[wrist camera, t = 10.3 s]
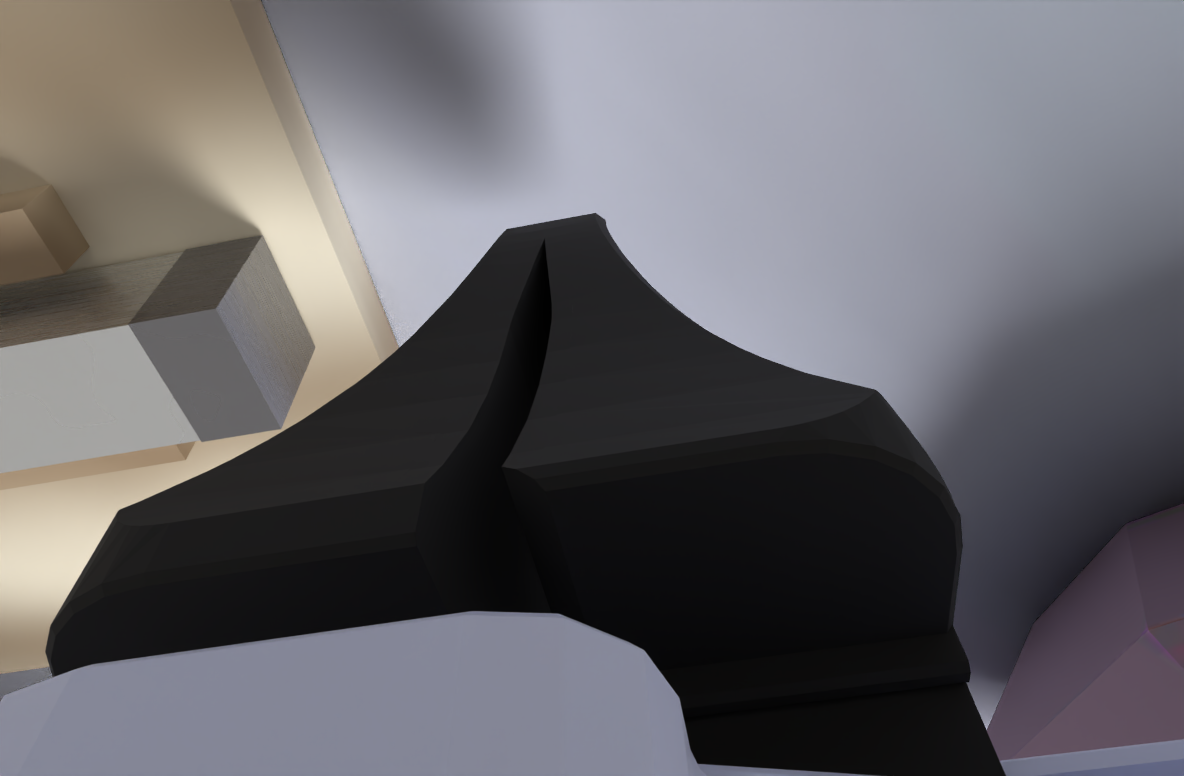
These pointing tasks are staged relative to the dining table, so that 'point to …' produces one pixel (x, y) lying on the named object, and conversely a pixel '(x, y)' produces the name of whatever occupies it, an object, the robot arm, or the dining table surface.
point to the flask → (1104, 652)
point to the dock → (156, 233)
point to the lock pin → (148, 355)
